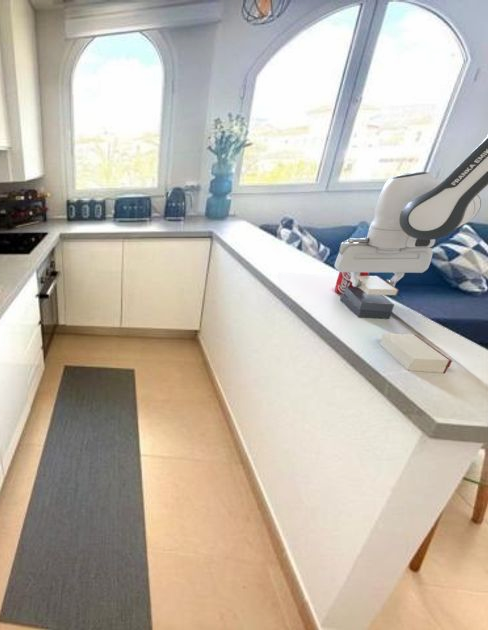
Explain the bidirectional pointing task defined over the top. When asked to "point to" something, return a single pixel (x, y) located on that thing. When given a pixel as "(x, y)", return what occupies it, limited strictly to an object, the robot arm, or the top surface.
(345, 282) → the soda can
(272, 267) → the top surface
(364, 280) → the ivory book
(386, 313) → the slate books
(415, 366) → the ivory books
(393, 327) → the top surface
